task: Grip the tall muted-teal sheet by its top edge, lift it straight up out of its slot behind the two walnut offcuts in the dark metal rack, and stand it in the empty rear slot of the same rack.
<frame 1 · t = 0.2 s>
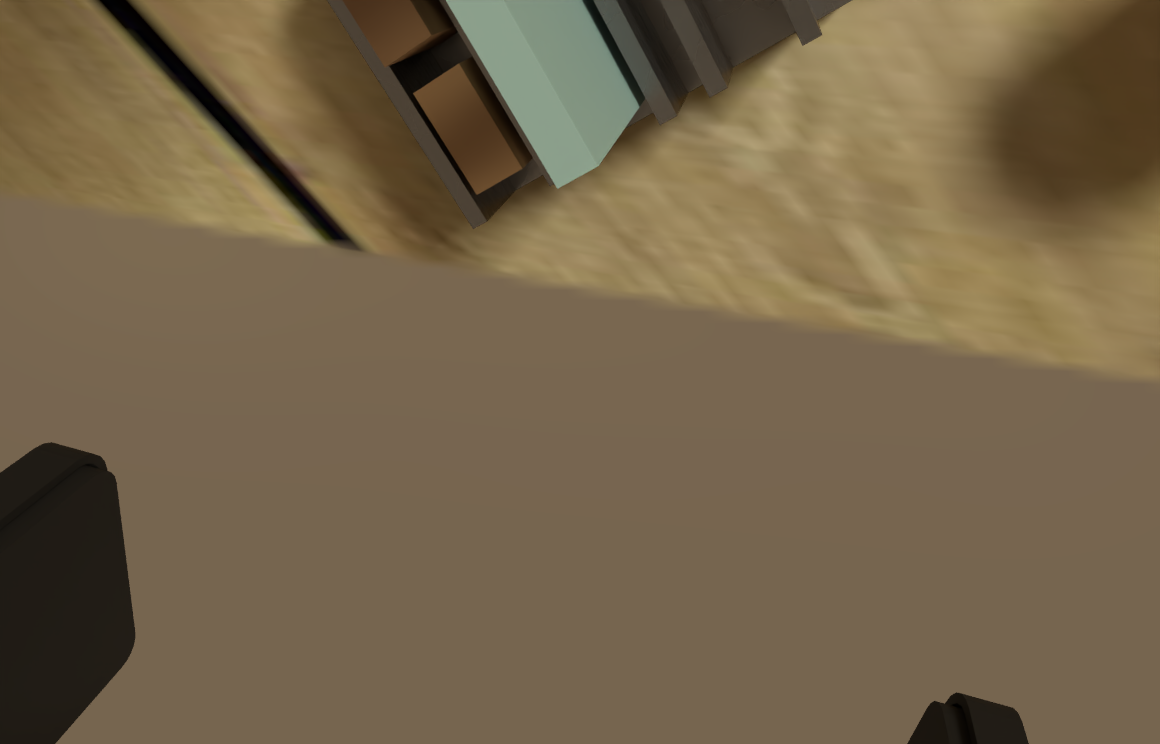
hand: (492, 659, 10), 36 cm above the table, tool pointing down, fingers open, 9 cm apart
short walnut offcut: (503, 105, 42), point 1 cm above the table, touching rack
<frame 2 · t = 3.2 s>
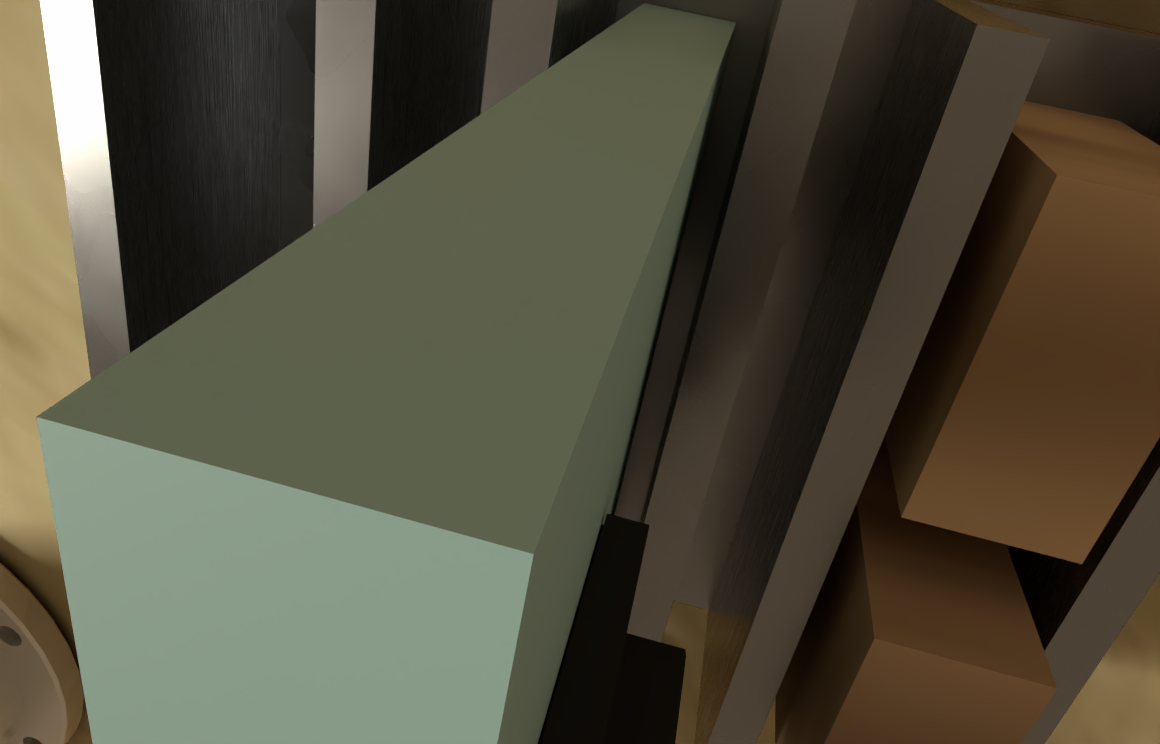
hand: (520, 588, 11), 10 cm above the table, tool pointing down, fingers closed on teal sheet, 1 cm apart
short walnut offcut: (982, 243, 16), point 1 cm above the table, touching rack
rack: (636, 293, 19), on the table
teal sheet: (621, 322, 18), point 2 cm above the table, touching gripper
tall walnut offcut: (865, 516, 19), point 1 cm above the table, touching rack
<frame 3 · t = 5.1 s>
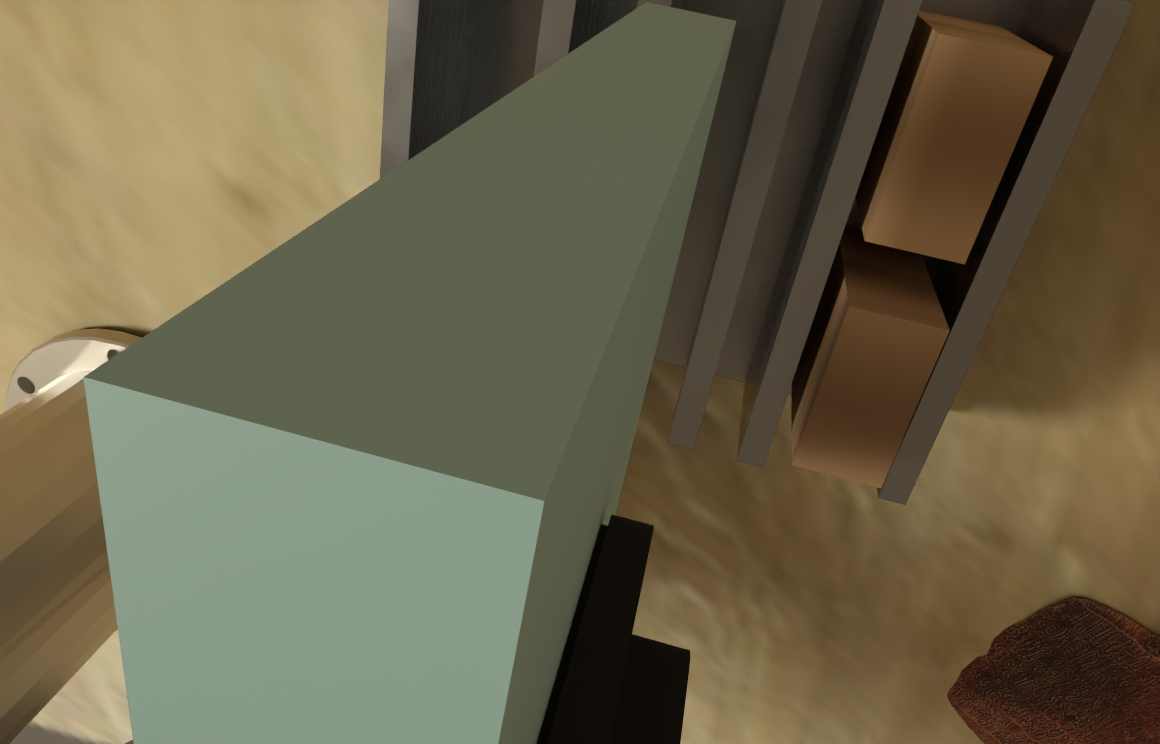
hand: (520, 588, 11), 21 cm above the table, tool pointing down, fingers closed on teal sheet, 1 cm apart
short walnut offcut: (922, 108, 25), point 1 cm above the table, touching rack
rack: (699, 156, 29), on the table
teal sheet: (624, 317, 18), point 13 cm above the table, touching gripper
tall walnut offcut: (851, 303, 28), point 1 cm above the table, touching rack
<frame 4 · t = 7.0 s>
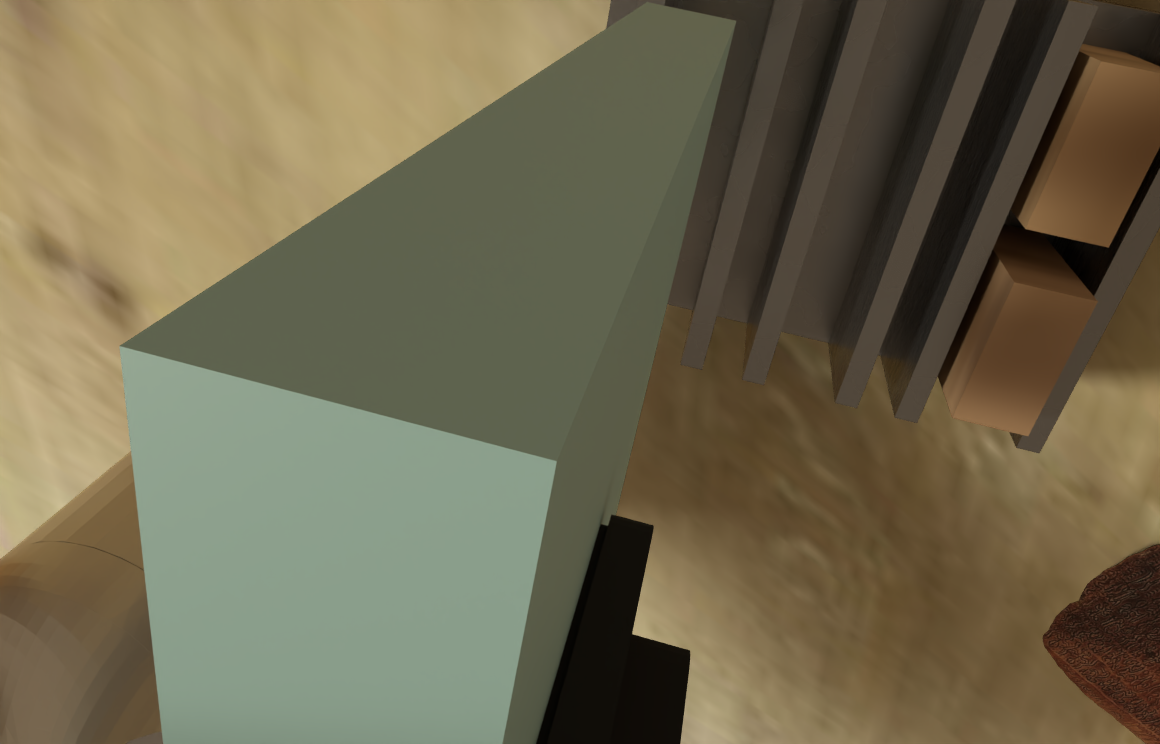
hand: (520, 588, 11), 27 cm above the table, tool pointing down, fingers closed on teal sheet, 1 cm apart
short walnut offcut: (1053, 119, 30), point 1 cm above the table, touching rack
rack: (848, 160, 33), on the table
teal sheet: (625, 315, 18), point 18 cm above the table, touching gripper
tall walnut offcut: (980, 286, 33), point 1 cm above the table, touching rack
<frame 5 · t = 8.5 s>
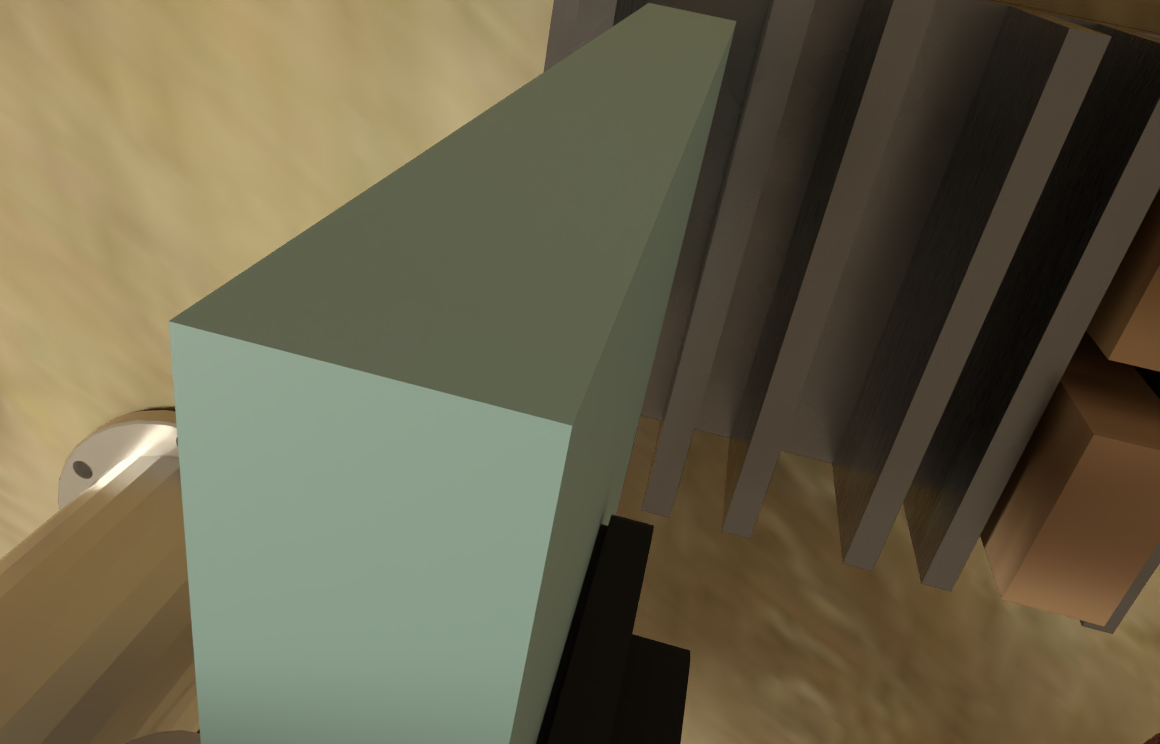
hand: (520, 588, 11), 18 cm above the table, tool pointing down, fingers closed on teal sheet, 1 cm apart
short walnut offcut: (1130, 195, 23), point 1 cm above the table, touching rack
rack: (858, 239, 26), on the table
teal sheet: (626, 311, 18), point 9 cm above the table, touching gripper
tall walnut offcut: (1027, 400, 26), point 1 cm above the table, touching rack
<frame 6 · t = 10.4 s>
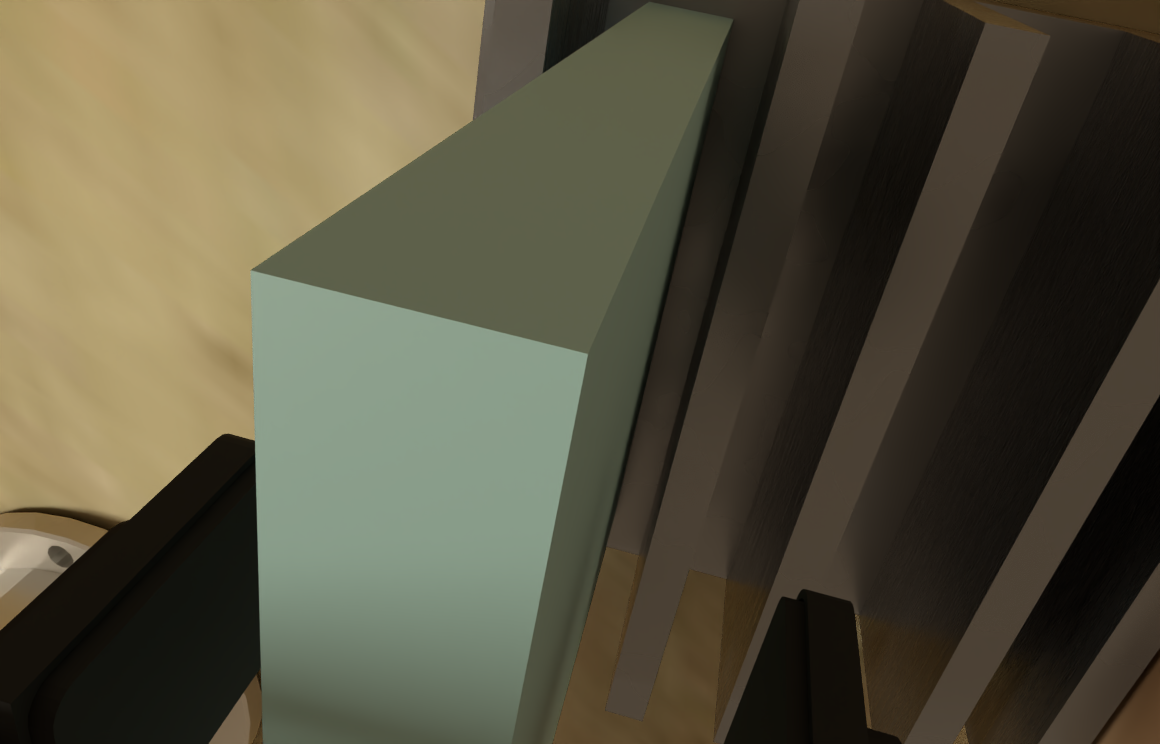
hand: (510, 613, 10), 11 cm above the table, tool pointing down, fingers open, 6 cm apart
rack: (897, 333, 20), on the table
teal sheet: (628, 299, 19), point 1 cm above the table, touching rack
tall walnut offcut: (1122, 550, 19), point 1 cm above the table, touching rack
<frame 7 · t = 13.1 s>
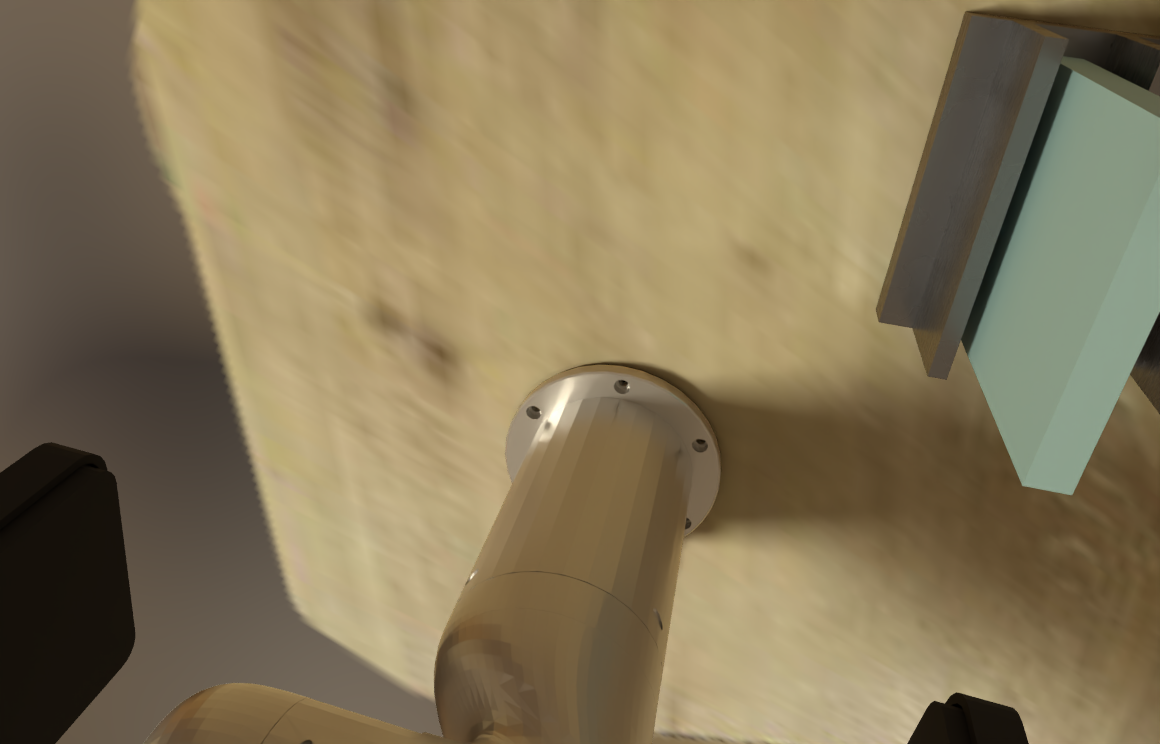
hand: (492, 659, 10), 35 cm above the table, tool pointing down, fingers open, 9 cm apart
rack: (1145, 208, 39), on the table
teal sheet: (1012, 198, 38), point 1 cm above the table, touching rack
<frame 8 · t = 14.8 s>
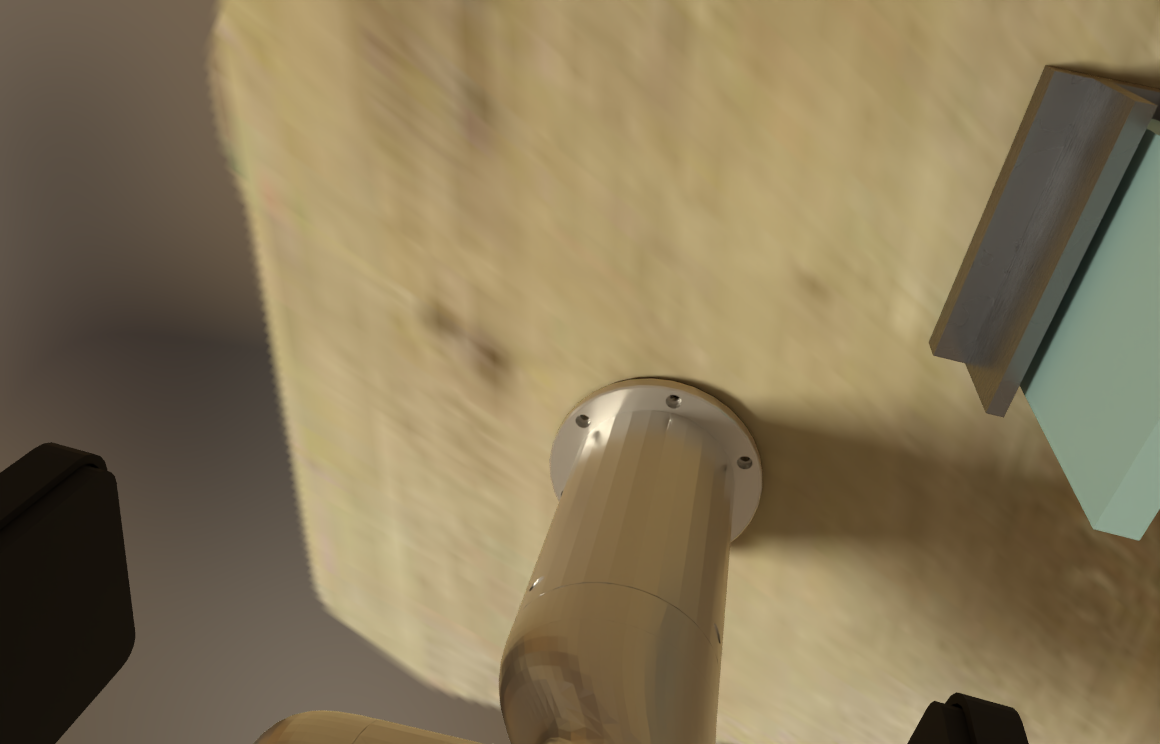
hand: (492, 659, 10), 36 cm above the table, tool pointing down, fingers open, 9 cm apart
teal sheet: (1074, 246, 40), point 1 cm above the table, touching rack
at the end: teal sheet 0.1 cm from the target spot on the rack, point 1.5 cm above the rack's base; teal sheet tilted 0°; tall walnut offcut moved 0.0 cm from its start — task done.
